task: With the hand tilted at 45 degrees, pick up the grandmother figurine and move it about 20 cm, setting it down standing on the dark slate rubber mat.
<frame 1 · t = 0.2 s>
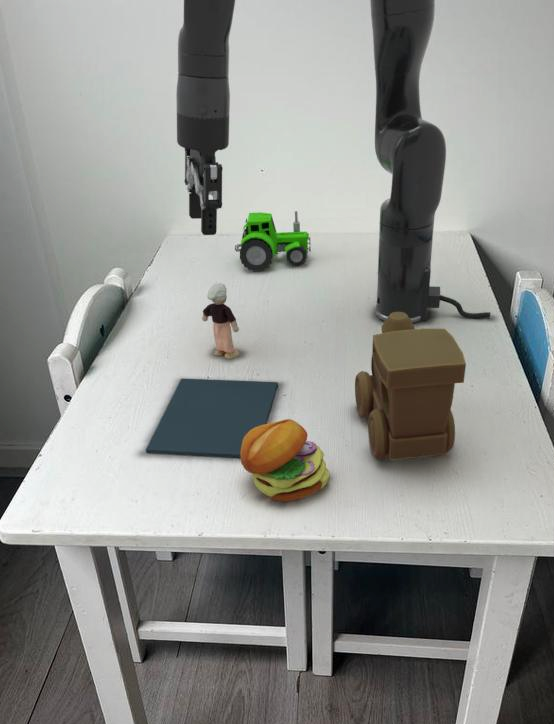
hand: (202, 225, 115), 22 cm above the table, tool pointing down, fingers open, 8 cm apart
cheeseburger: (285, 484, 99), on the table
wooden toy train: (401, 434, 107), on the table
toy tractor: (273, 262, 160), on the table
mat: (215, 417, 113), on the table
grandmother figurine: (224, 354, 129), on the table
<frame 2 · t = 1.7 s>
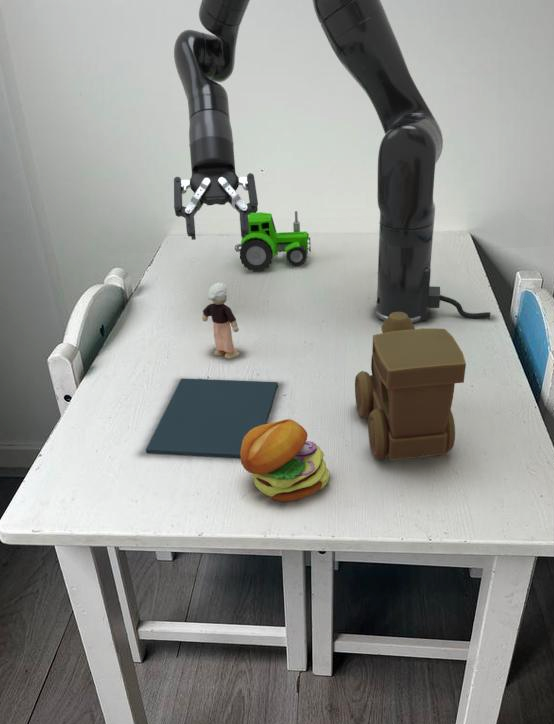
hand: (218, 236, 127), 17 cm above the table, tool tilted 45°, fingers open, 8 cm apart
nothing on the table moved.
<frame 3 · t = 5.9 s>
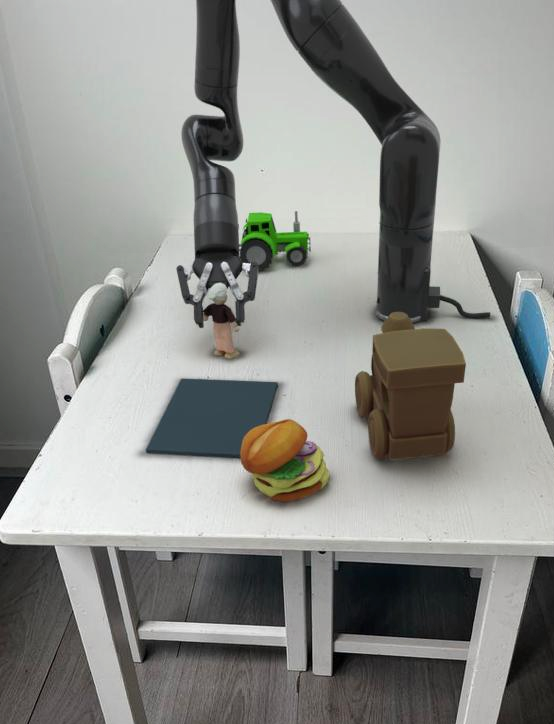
hand: (220, 325, 123), 6 cm above the table, tool tilted 45°, fingers closed on grandmother figurine, 5 cm apart
grandmother figurine: (224, 353, 129), on the table, touching gripper
everything else where it was.
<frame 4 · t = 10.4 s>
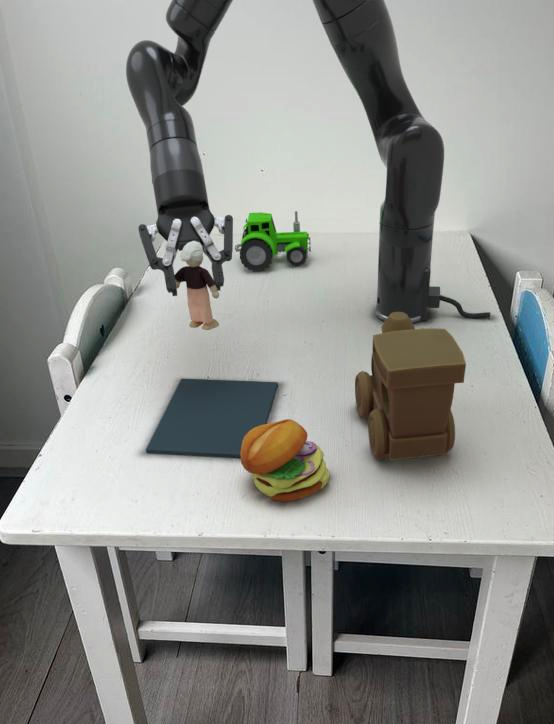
hand: (196, 291, 106), 18 cm above the table, tool tilted 45°, fingers closed on grandmother figurine, 5 cm apart
grandmother figurine: (200, 325, 112), point 12 cm above the table, touching gripper
everything else where it was.
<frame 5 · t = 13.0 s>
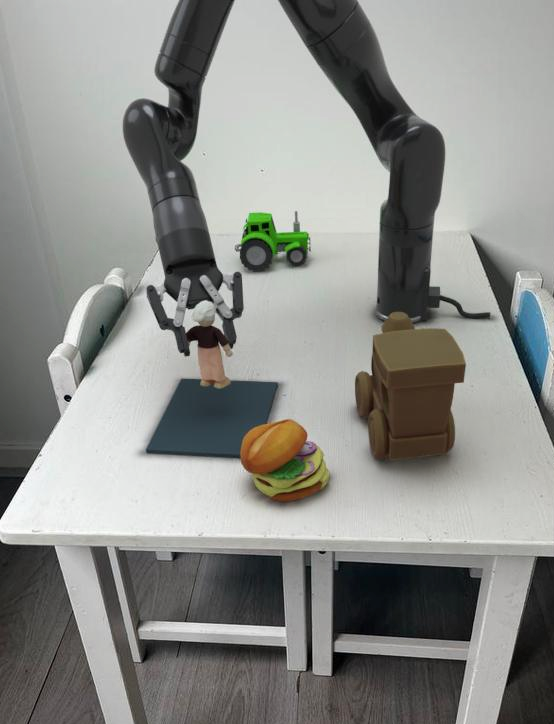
hand: (209, 350, 104), 12 cm above the table, tool tilted 45°, fingers closed on grandmother figurine, 5 cm apart
grandmother figurine: (211, 383, 109), point 6 cm above the table, touching gripper
everything else where it was.
when the fingers open (7 cm above the table, at t = 15.1 s): grandmother figurine stays where it is, resting on mat.
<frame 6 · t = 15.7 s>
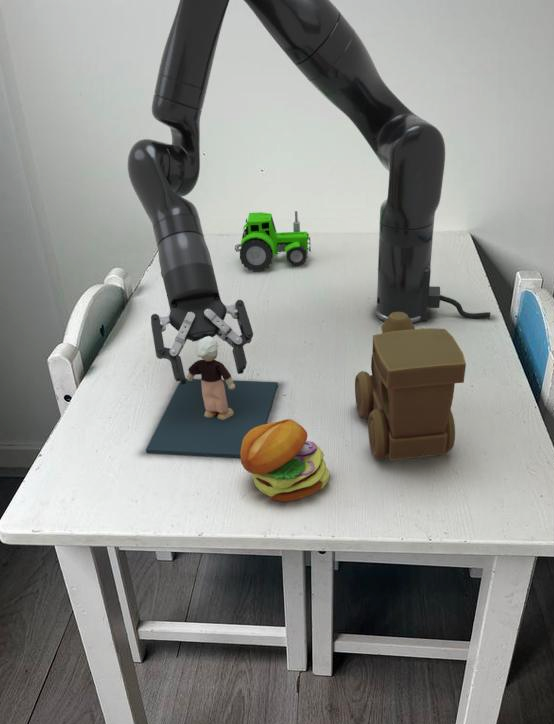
hand: (212, 377, 107), 8 cm above the table, tool tilted 45°, fingers open, 8 cm apart
grandmother figurine: (215, 414, 113), resting on mat
everything else where it was.
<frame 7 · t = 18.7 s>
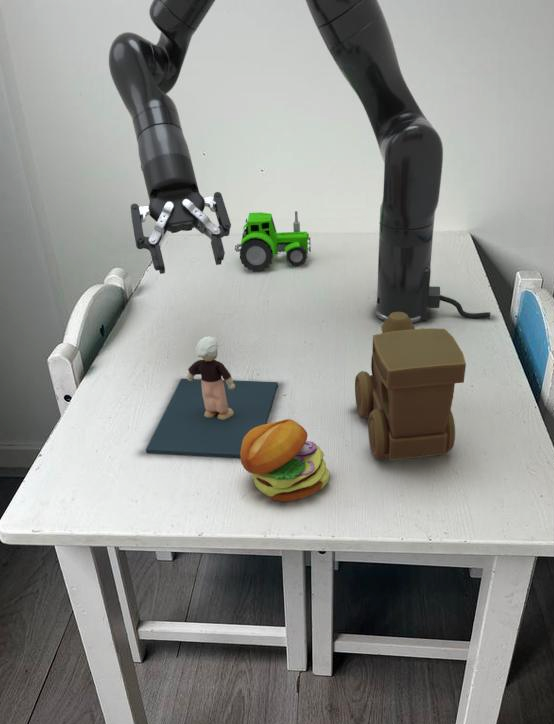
hand: (191, 267, 110), 19 cm above the table, tool tilted 45°, fingers open, 8 cm apart
nothing on the table moved.
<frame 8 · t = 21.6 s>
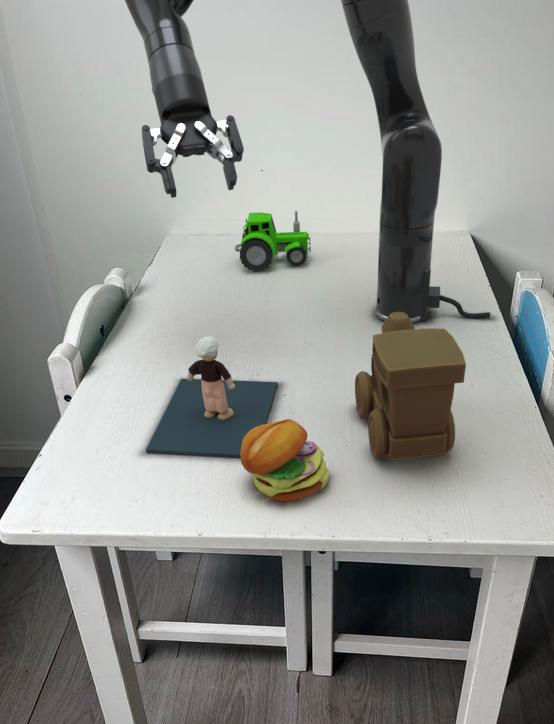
hand: (203, 191, 107), 29 cm above the table, tool tilted 45°, fingers open, 8 cm apart
nothing on the table moved.
at the end: grandmother figurine inside the target area on the mat (0.1 cm from its centre), point 0.4 cm above the mat's base; grandmother figurine tilted 0°; the gripper is holding nothing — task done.
